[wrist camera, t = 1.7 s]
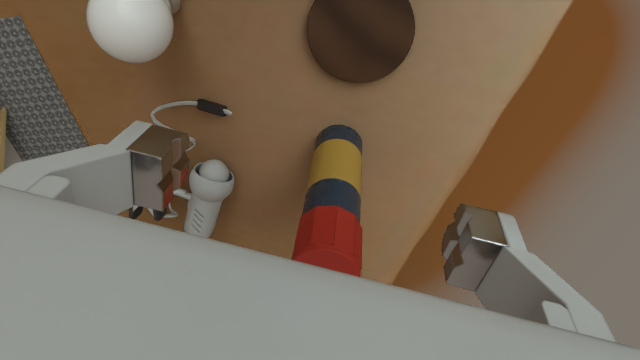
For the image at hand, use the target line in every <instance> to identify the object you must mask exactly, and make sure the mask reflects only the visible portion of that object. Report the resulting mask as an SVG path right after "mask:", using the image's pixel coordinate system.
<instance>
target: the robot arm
mask: <svg viewBox="0 0 640 360" xmlns="http://www.w3.org/2000/svg"><path fill="white" fill-rule="evenodd" d="M188 148H189V136H188V134H187V133H184V132H180V131H176V130H173V129H169V128H165V127H162V126H158V125H154V124H151V123H147V122H143V121H134V122H133V123H132V124H131V125H129V126H128V127H127V128H126V129H125V130H124V131H122V132H121V133H120V134H119V135H118V136H116V137H115V138H114V139H113V140H112V141H110V142H109V143H108V144H107V145H105V144H97V145H93V146H89V147H84V148H80V149H75V150H71V151H67V152H62V153H58V154H53V155H49V156H45V157H40V158H36V159H32V160H27V161H23V162H18V163H14V164H12V165H11V166H9V167H8V168H6V169H5V170H4V171H2V172H1V173H0V360H640V348H636V347H632V346H628V345H624V344H620V343H616V341H615V339H614V337H613V335H612V333H611V331H610V329H609V328H608V325H607V323H606V321H605V320H604V317H603V315H602V314H601V313H600V312H599V311H598V310H596V308H595V307H593V306H592V305H591V304H590V303H589V302H587V300H585V299H584V298H583V297H582V296H581V295H580V294H579V293H577V292H576V291H575V290H574V289H573V288H572V287H571V286H570V285H569V284H567V283H566V282H565V281H564V280H563V279H562V278H561V277H559V276H558V275H557V274H556V273H555V272H554V271H553V270H552V269H550V268H549V267H548V266H547V265H546V264H545V263H543V262H542V261H541V260H540V259H539V258H538V257H537V256H536V255H534V254H533V253H530V252H528V251H527V248H526V246H525V243H524V240H523V238H522V235H521V233H520V230H519V228H518V225H517V222H516V220H515V217H514V216H513V215H511V214H507V213H502V212H497V211H492V210H488V209H483V208H479V207H474V206H470V205H466V204H460V205H459V206H458V207H457V209H456V211H455V213H454V218H455V222H453V223H451V224H450V225H448V226H447V229H446V231H445V233H444V236H443V240H442V256H443V257H444V258H445V260H446V263H445V265H444V273H445V280H446V284H449V285H452V286H456V287H460V288H463V289H466V290H470V291H473V292H475V294H476V296H477V297H478V299H479V300H480V301H481V303H482V304H483V306H484V307H485V309H484V308H479V307H476V306H472V305H468V304H464V303H460V302H456V301H452V300H448V299H444V298H440V297H436V296H432V295H428V294H424V293H421V292H417V291H413V290H409V289H405V288H401V287H397V286H393V285H389V284H385V283H382V282H378V281H374V280H370V279H366V278H362V277H358V276H354V275H350V274H346V273H342V272H338V271H334V270H331V269H327V268H323V267H319V266H315V265H311V264H307V263H303V262H299V261H295V260H291V259H287V258H284V257H280V256H276V255H272V254H268V253H264V252H260V251H256V250H252V249H248V248H244V247H240V246H237V245H233V244H229V243H225V242H221V241H217V240H213V239H209V238H205V237H201V236H197V235H193V234H189V233H186V232H182V231H178V230H174V229H170V228H166V227H162V226H158V225H154V224H150V223H146V222H142V221H139V220H135V219H131V218H127V217H123V216H119V215H117V214H119V213H121V212H123V211H125V210H127V209H129V208H131V207H133V206H134V205H136V206H141V207H145V208H149V209H154V210H158V211H164V209H165V208H166V207H167V205H168V204H169V203H170V201H171V200H172V199H173V191H176V190H178V189H180V188H181V186H182V185H183V184H184V181H185V179H186V176H187V173H188V168H189V159H188V157H187V156H186V154H185V152H186V151H187V149H188Z"/></svg>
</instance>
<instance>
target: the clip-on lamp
mask: <svg viewBox="0 0 640 360" xmlns="http://www.w3.org/2000/svg"><path fill="white" fill-rule="evenodd" d="M180 105H196V106H197V108H198V109H200V110H203V111H206V112H209V113H212V114H216V115H219V116H222V117H223V116H226V114H227V115H229V116H231V115H232V112H230V111H228V110H227V107H226V106H223V105H220V104H217V103H213V102H210V101H207V100H203V99H198V101H179V102H173V103H168V104H164V105H161V106H159V107H157V108H155V109H154V110H153V111H152V112H151V116H150V117H151V119H152V121H153V122H154V123H155V124H156V125H158V126H162V127H165V128H169V127H167V126H165V125H163V124H161V123H160V122H158V121H157V120H156V119H155V117H154V115H155V113H156V112H157V111H159V110H161V109H164V108H168V107H173V106H180ZM169 129H172V128H169ZM173 130H174V129H173ZM176 131H177V130H176ZM188 136H189V135H188ZM189 140H190V141H192V142H193V143H194V144H193V145H192V146H191V147H190V148H188V149H187V151H189V150H190V149H192V148H193V147H194V146H195V145H196V143H197V142H196V140H195V139H194V138H192V137H190V136H189ZM187 151H186V152H187ZM189 185H190V189H191V191H192V193H191V194H190V193H188V191H186V190H183V189H178V190H176V191H173V194H174V195H177V196H179V197H182V198H185V199H187V200H189V201H188V205H187V207H188V211H187V215H186V219H185V223H184V230H185V232H186V233H189V234H193V235H197V236H201V237H205V238H208V237H210V236H211V235H212V233H213V231H214V227H215V224H216V221H217V218H218V215H219V211H220V208H221V205H222V202H223V199H225V198H226V197H227V196H228V195H229V194H230V193H231V191H232V189H233V186H234V175H233V173H232V172H231V171H230V170H229V169H228V168H227V166H226V165H225V164H224V163H223V162H221V161H219V160H215V159H213V160H208V161H206V162H205V163H199V164H197V165H195V166H194V168H193V169H192V171H191V173H190V176H189ZM168 205H169V209H170V211H171V212H172V213H174V214H166V211H167V208H165V209H164V211H158V210H154V209H149V208H147V209H148V210H149V211H150V213H151V214H152V215H153V216H154V219H155V220H156V221H160V220H161V219H162V218H172V217H177V216H178V212H177V211H174V210H173V209H172V208H171V204H170V203H169V204H168ZM142 210H143V207H141V206H136V205H134V206H133V207H131V208H130V209H129V217H130V218H131V219H136V218H137V217H138V216H139V215H140V214H141V213H142Z"/></svg>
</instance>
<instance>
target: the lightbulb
mask: <svg viewBox="0 0 640 360" xmlns="http://www.w3.org/2000/svg"><path fill="white" fill-rule="evenodd" d="M179 8H180V0H89V2H88V5H87V10H86V19H87V25H88V28H89V31H90V33H91V35H92V37H93V39H94V40H95V42H96V43H97V44H98V46H99V47H100V48H101V49H102V50H103V51H105V52H106V53H107V54H109V55H110V56H112V57H114V58H116V59H118V60H120V61H123V62H128V63H144V62H148V61H151V60H153V59H155V58H157V57H159V56H160V55H161V54H162V53H163V52H164V51H165V50H166V49H167V47H168V46H169V44H170V42H171V40H172V36H173V31H174V22H173V17H172V15H173V14H175V13H176V12H177V11H178V10H179Z"/></svg>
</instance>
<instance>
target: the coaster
mask: <svg viewBox="0 0 640 360" xmlns="http://www.w3.org/2000/svg"><path fill="white" fill-rule="evenodd" d="M307 34H308V41H309V45H310V48H311V51H312V53H313V55H314V57H315V58H316V60H317V61H318V63H319V64H320V65H321V66H322V67H323V68H324V69H325V70H326V71H327V72H329V73H330V74H332V75H333V76H335V77H337V78H339V79H342V80H345V81H349V82H357V83H359V82H370V81H374V80H377V79H380V78H382V77H384V76H386V75H388V74H390V73H391V72H392V71H394V70H395V69H396V68H397V67H398V66H399V65H400V64H401V63H402V62H403V60H404V59H405V57H406V56H407V54H408V52H409V50H410V48H411V46H412V43H413V39H414V34H415V20H414V15H413V10H412V8H411V5H410V2H409V0H315V2H314V4H313V6H312V8H311V11H310V14H309V18H308V25H307Z"/></svg>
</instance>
